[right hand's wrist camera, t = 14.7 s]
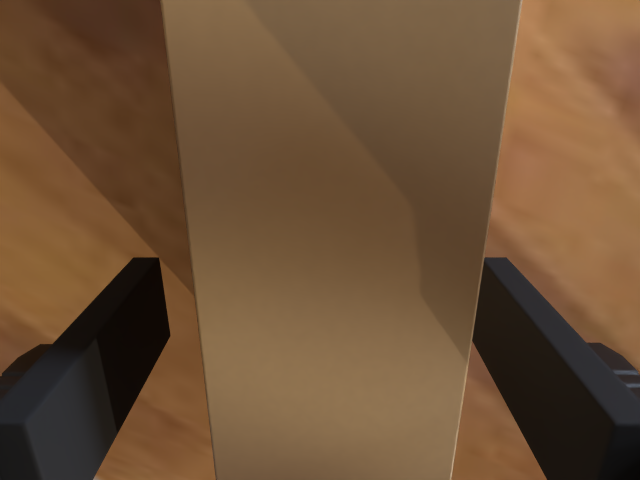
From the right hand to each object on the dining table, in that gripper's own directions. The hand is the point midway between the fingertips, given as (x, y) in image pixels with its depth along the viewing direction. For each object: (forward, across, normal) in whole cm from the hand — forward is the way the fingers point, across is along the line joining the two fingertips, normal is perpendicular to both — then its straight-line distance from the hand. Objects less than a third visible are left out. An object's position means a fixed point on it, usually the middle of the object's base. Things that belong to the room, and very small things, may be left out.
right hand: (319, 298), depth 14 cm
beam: (+3, 0, -30) cm, 30 cm away
